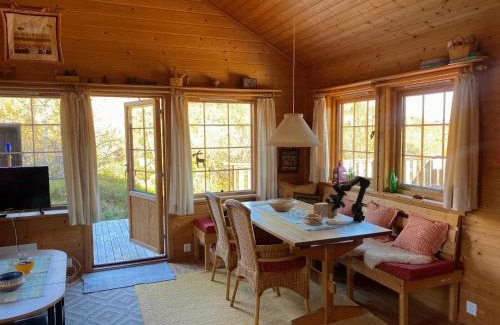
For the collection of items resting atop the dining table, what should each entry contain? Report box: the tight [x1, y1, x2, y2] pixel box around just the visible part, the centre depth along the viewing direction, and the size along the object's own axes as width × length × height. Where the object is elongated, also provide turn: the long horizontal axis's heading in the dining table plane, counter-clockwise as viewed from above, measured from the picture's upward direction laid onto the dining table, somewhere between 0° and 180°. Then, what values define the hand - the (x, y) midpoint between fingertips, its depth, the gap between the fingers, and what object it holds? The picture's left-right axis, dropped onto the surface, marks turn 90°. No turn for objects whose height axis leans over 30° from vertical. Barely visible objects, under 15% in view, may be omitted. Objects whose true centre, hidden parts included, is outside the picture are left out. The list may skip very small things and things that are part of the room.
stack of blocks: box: [313, 202, 338, 218], centre depth 357 cm, size 21×6×12 cm, turn 108°
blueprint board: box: [325, 219, 350, 226], centre depth 328 cm, size 18×11×2 cm, turn 91°
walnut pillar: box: [327, 203, 335, 220], centre depth 318 cm, size 4×4×12 cm
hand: (329, 210), depth 317 cm, fingers closed on walnut pillar, 4 cm apart
